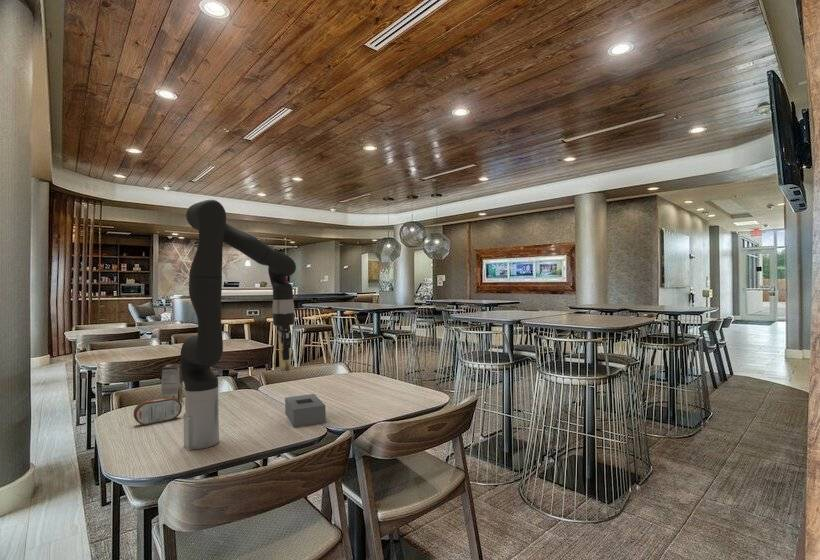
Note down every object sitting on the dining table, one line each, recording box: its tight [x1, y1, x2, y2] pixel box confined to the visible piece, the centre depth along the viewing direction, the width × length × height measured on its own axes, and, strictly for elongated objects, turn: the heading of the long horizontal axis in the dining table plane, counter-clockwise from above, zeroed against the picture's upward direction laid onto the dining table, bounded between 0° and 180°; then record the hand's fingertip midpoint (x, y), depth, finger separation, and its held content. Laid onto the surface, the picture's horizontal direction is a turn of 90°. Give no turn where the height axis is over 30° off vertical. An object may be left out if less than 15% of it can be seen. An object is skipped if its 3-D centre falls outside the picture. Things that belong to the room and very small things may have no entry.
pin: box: [278, 338, 292, 373], centre depth 153 cm, size 4×4×12 cm
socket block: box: [284, 393, 327, 428], centre depth 153 cm, size 18×11×6 cm, turn 25°
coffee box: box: [160, 363, 184, 403], centre depth 176 cm, size 9×6×16 cm
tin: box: [133, 397, 183, 426], centre depth 152 cm, size 15×3×8 cm, turn 129°
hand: (284, 358), depth 153 cm, fingers closed on pin, 4 cm apart
